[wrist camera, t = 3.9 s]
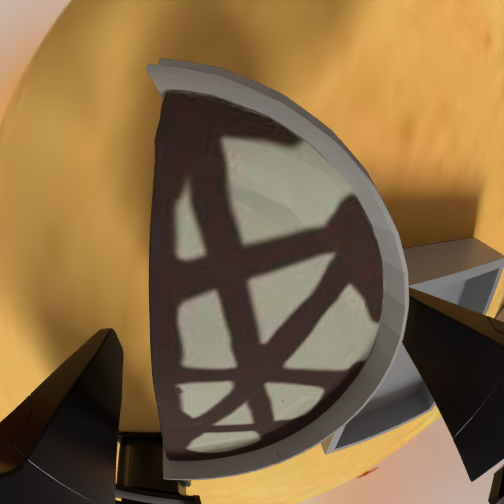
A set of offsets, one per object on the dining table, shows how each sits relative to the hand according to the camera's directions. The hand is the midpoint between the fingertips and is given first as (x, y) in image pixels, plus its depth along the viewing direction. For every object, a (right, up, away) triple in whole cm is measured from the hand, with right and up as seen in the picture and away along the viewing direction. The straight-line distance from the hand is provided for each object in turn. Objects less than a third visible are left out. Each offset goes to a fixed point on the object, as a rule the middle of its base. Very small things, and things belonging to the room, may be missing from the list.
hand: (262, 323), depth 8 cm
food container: (-1, +3, +7) cm, 7 cm away
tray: (+12, -6, +13) cm, 19 cm away
